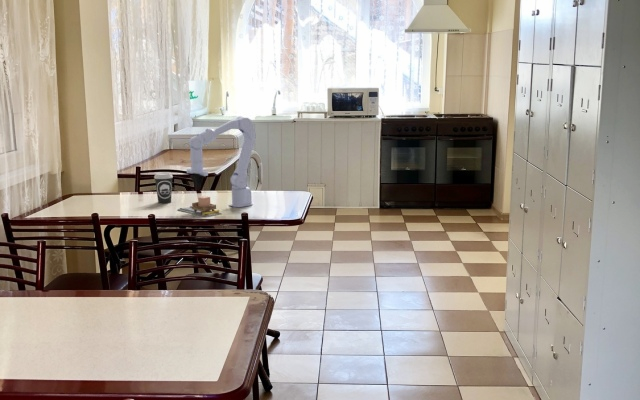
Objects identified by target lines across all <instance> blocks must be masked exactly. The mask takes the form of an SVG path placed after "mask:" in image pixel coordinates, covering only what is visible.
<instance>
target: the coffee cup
mask: <svg viewBox="0 0 640 400" xmlns="http://www.w3.org/2000/svg"><path fill="white" fill-rule="evenodd" d="M173 177H174V176H173V174H172V172H166V171H165V172H164V171H163V172H156V173H155V174H154V177H153V179H154V182H155V186H156V187H155V188H156V197H157V202H158V204H170V203H172V193H173V192H172V190H173Z"/></svg>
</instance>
